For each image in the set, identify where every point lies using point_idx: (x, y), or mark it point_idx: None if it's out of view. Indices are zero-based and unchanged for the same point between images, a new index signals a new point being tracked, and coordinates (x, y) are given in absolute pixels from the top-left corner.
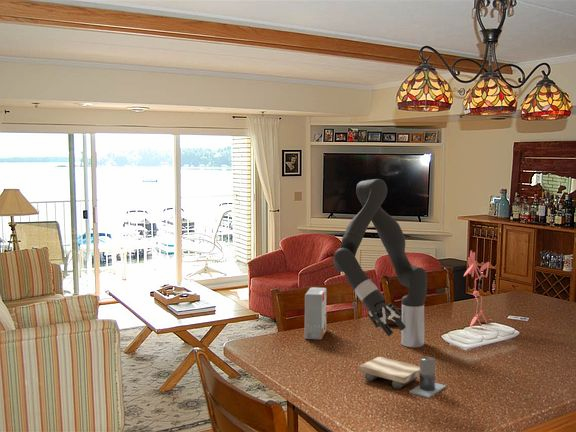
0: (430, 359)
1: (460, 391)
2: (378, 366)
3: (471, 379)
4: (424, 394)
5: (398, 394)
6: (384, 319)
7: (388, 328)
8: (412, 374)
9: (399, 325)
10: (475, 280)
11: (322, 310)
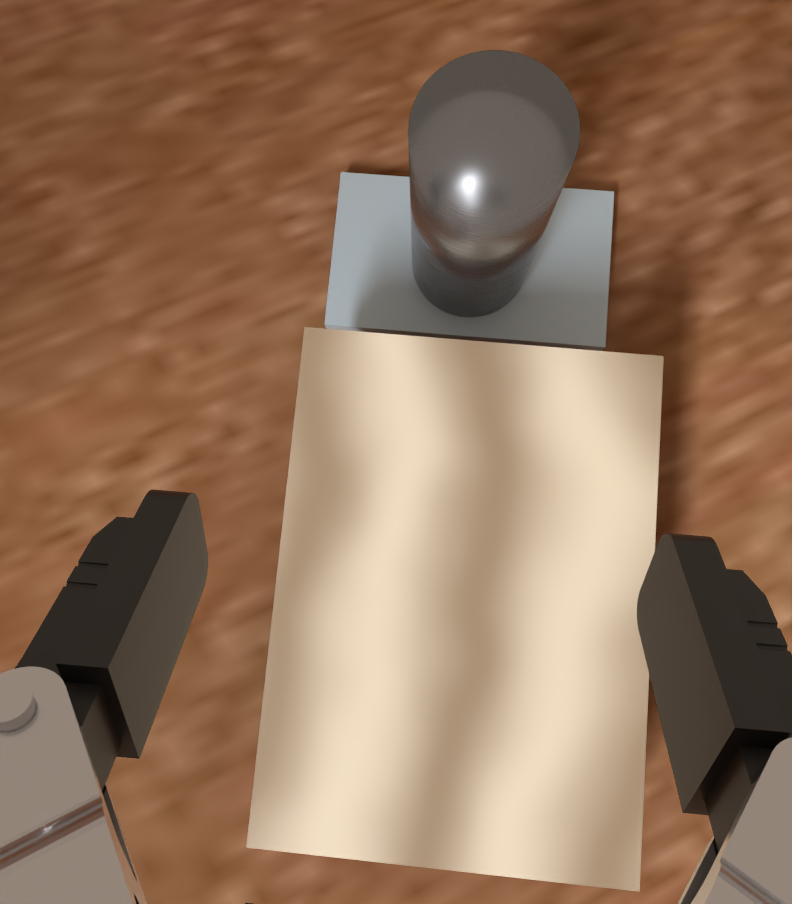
0: (490, 96)
1: (356, 70)
2: (537, 703)
3: (84, 88)
4: (601, 228)
5: (684, 405)
6: (766, 875)
7: (740, 636)
8: (508, 347)
9: (171, 622)
10: None
11: None
